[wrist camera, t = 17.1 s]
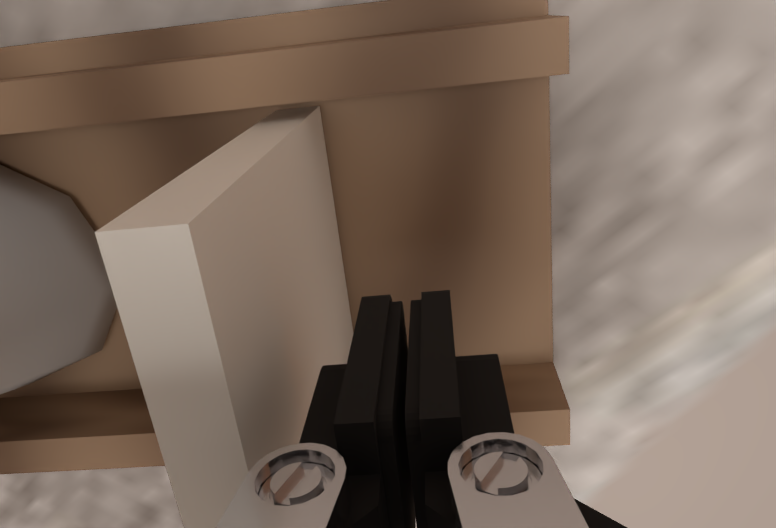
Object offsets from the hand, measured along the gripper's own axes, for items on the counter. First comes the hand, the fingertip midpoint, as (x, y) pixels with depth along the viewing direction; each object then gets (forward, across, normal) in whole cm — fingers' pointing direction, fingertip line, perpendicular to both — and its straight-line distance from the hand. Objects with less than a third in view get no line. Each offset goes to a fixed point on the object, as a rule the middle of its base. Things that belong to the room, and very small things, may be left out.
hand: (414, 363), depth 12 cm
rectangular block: (+7, +3, 0) cm, 7 cm away
